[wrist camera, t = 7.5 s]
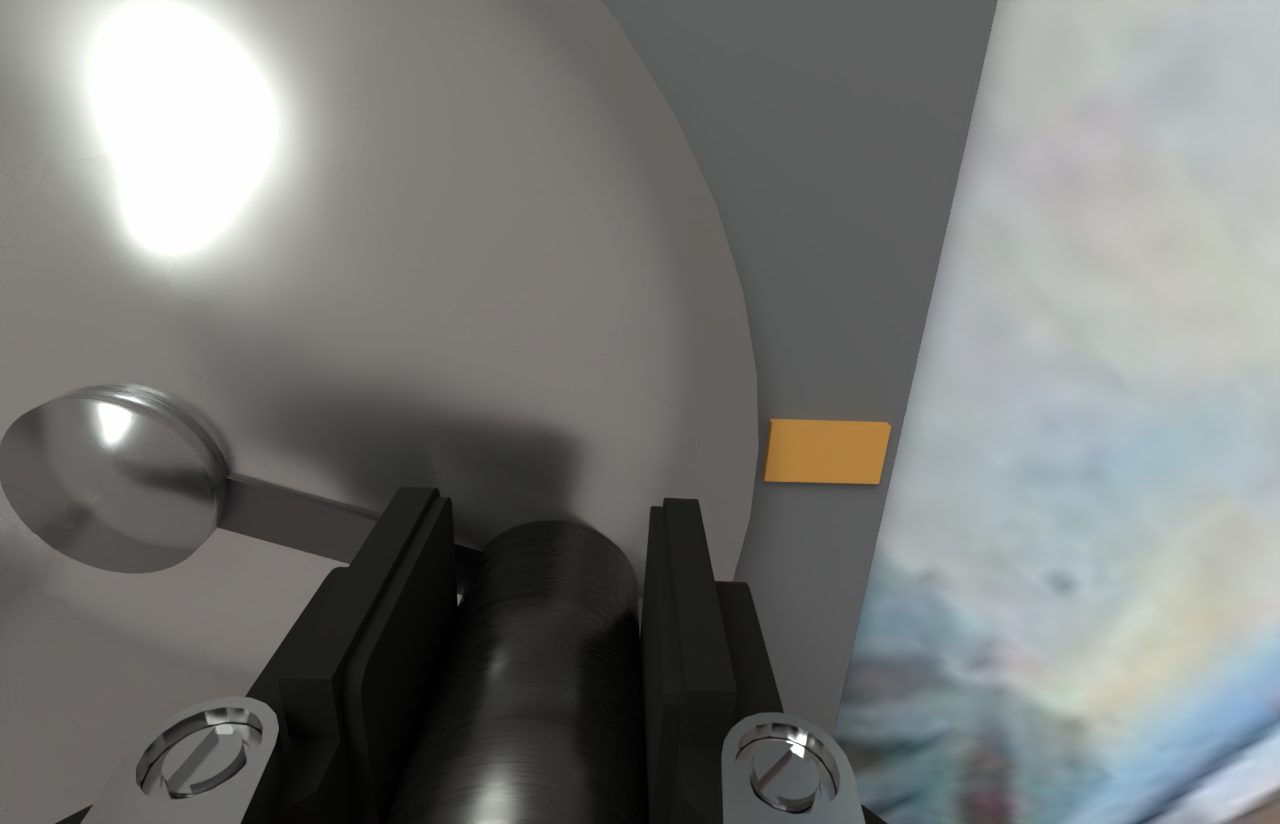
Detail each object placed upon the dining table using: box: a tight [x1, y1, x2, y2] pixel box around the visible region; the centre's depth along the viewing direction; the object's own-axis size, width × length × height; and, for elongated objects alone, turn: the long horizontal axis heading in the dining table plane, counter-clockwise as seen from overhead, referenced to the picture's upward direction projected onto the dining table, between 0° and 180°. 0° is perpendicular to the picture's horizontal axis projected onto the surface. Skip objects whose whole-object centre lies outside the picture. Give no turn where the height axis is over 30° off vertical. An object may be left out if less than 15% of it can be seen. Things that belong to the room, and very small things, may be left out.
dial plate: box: [601, 0, 997, 738], centre depth 12 cm, size 26×26×2 cm
